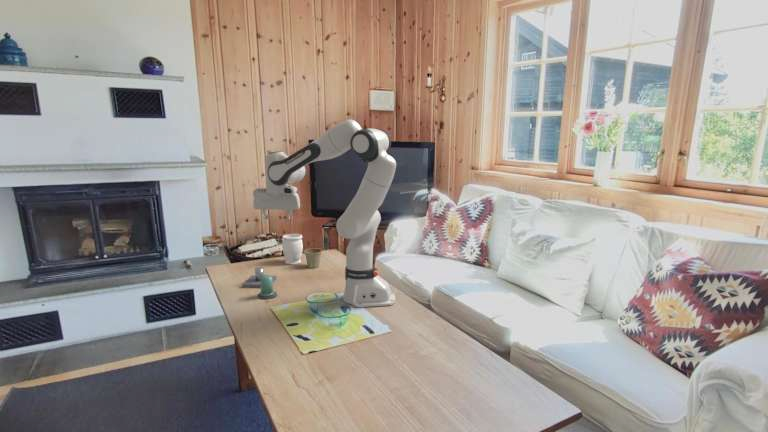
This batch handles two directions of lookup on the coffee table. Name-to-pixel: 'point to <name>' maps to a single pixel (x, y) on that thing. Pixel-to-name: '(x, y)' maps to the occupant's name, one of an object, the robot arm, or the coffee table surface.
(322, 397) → the coffee table surface
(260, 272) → the grey rounded piece
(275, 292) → the pad
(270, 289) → the cap
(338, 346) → the coffee table surface
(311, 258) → the flower pot
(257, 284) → the post slab
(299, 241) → the jar
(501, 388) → the coffee table surface
